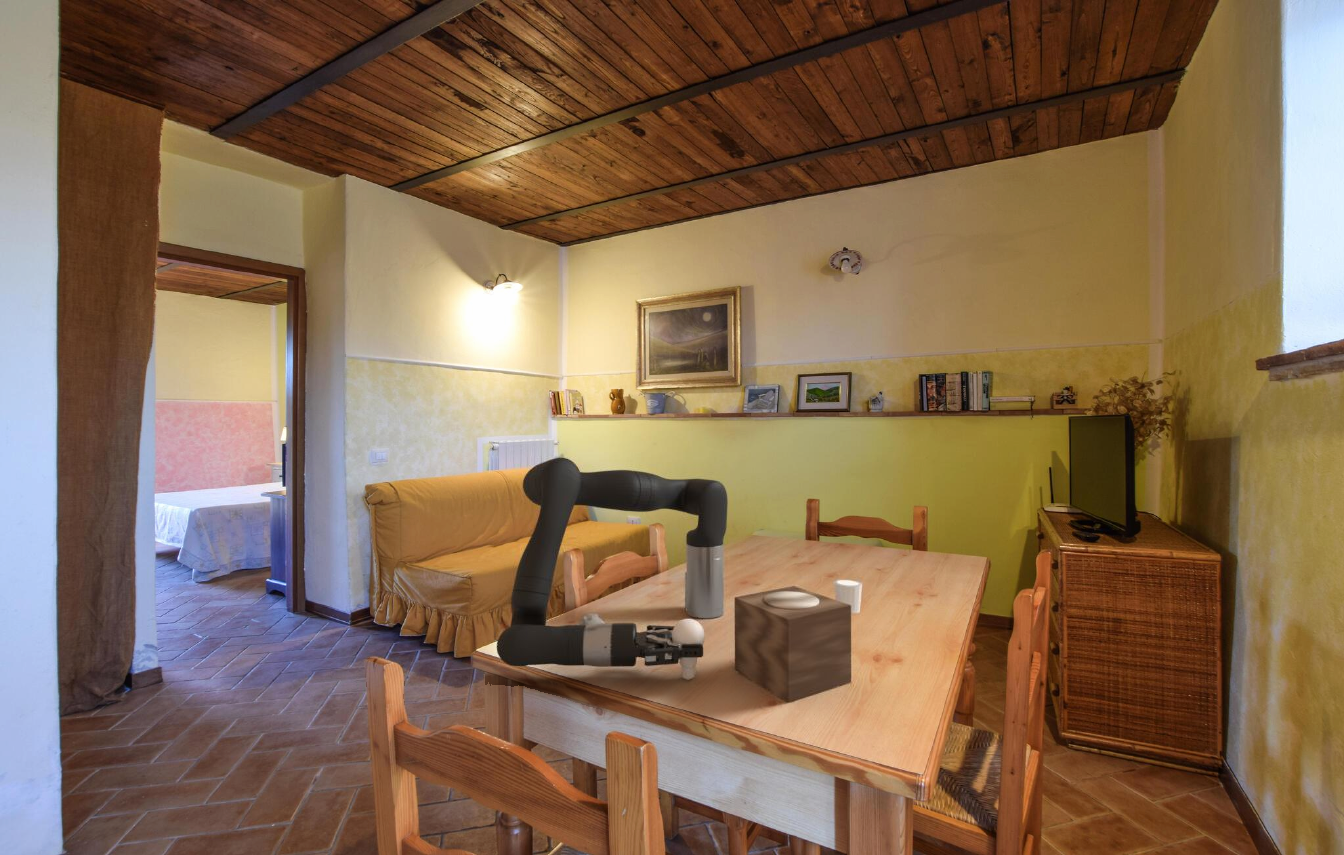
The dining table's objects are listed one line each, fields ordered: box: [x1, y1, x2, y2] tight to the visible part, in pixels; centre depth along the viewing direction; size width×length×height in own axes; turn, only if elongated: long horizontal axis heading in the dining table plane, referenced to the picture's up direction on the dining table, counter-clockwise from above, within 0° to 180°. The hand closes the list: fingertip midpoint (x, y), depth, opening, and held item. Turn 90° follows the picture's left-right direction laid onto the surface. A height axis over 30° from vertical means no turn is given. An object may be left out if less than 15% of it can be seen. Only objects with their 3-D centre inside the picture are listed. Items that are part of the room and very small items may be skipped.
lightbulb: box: [672, 618, 706, 681], centre depth 108 cm, size 6×6×11 cm
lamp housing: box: [734, 585, 852, 704], centre depth 109 cm, size 15×15×14 cm
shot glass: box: [833, 579, 863, 615], centre depth 148 cm, size 7×7×7 cm
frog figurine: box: [578, 613, 605, 625], centre depth 123 cm, size 6×7×7 cm
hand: (701, 643), depth 108 cm, fingers closed on lightbulb, 5 cm apart
